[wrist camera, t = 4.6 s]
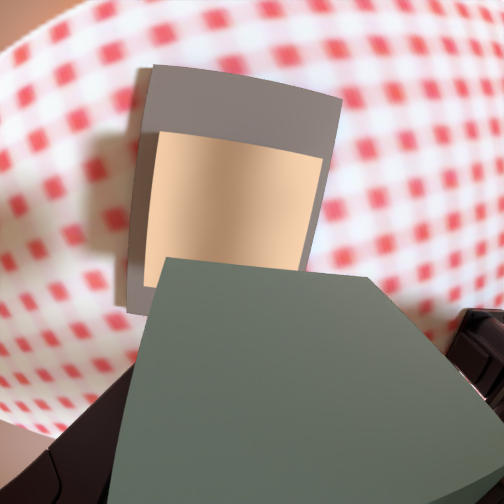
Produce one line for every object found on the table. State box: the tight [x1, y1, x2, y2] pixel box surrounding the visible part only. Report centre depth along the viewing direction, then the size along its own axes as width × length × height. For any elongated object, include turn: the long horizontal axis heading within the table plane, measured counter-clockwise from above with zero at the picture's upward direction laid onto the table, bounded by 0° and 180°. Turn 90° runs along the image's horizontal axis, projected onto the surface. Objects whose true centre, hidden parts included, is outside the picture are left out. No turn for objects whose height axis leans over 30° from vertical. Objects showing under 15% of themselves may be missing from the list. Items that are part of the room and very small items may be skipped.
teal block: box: [107, 257, 504, 504], centre depth 6 cm, size 5×5×6 cm
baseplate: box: [127, 64, 343, 316], centre depth 17 cm, size 10×14×1 cm
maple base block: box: [144, 131, 323, 288], centre depth 15 cm, size 7×7×3 cm
